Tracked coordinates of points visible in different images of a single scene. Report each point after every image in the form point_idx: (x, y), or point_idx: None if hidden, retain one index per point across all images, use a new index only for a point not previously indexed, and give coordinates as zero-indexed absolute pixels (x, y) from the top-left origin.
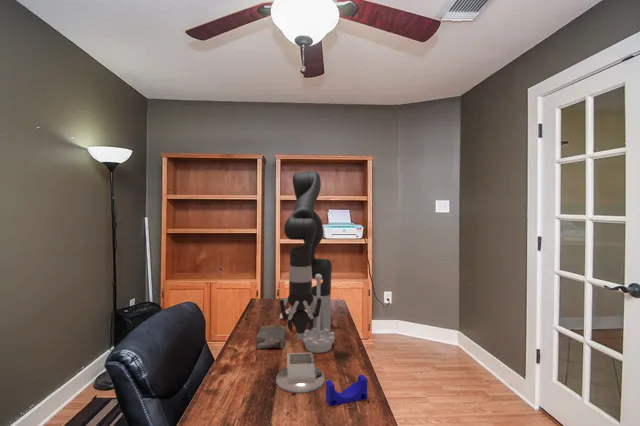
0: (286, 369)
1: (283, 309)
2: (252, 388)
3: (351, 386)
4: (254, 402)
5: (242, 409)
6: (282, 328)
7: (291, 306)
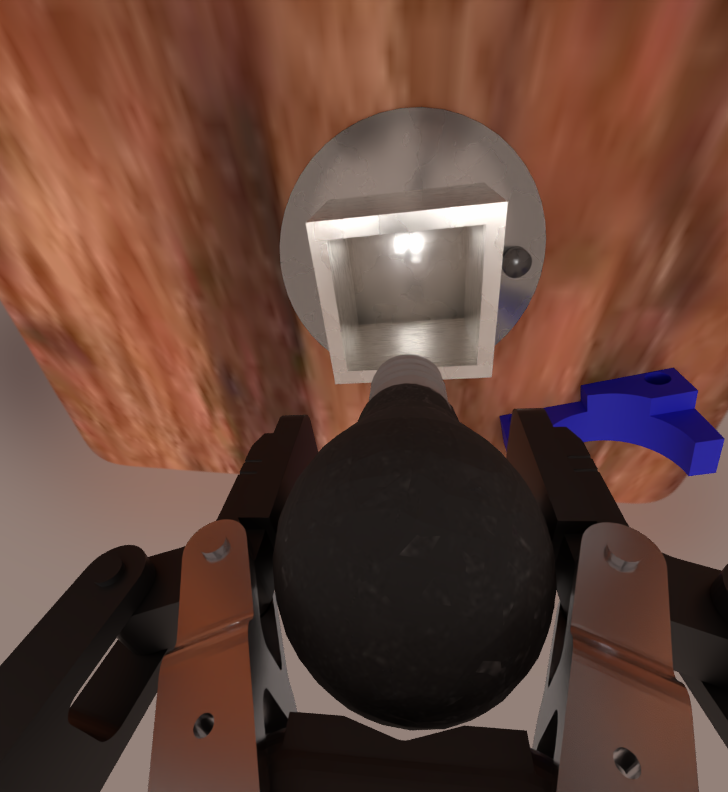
0: (322, 178)
1: (86, 775)
2: (203, 329)
3: (634, 400)
4: (247, 410)
5: (224, 437)
6: None
7: (163, 757)
